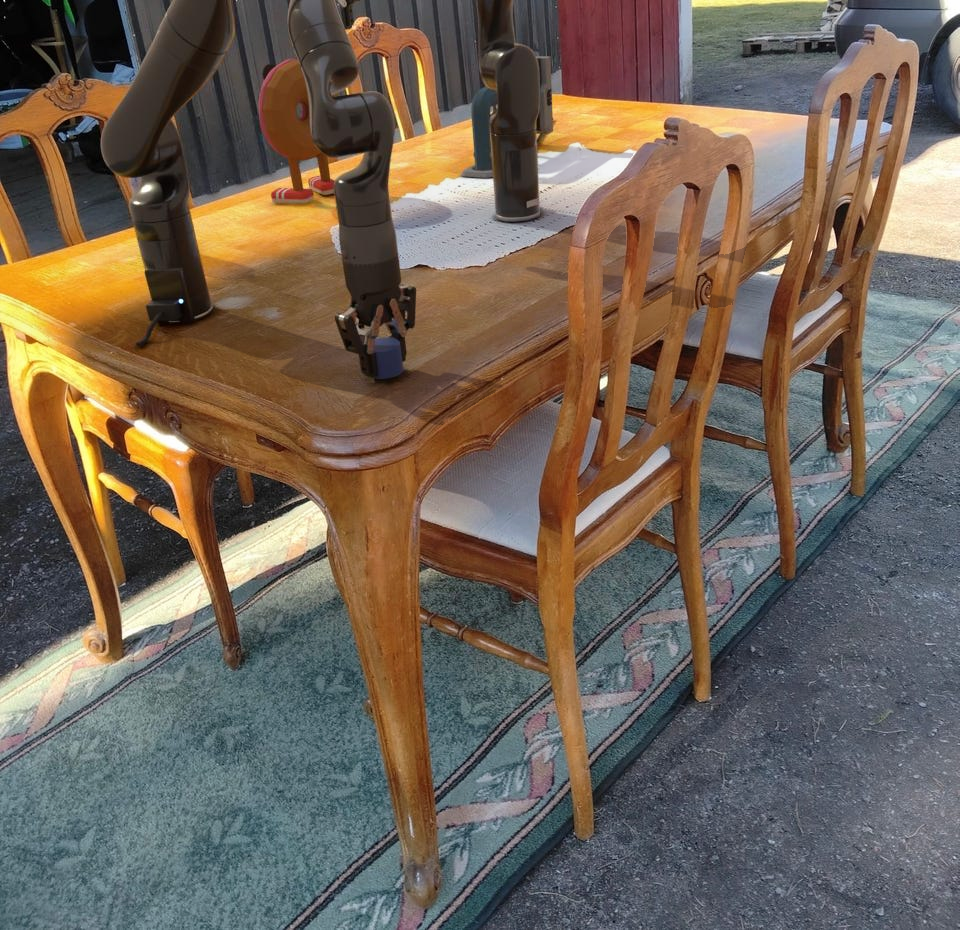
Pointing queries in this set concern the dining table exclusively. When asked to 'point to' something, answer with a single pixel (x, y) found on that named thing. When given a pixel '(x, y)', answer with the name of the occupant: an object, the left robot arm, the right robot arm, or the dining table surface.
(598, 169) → the dining table surface
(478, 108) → the clamp
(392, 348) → the canister
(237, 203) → the dining table surface
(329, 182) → the toy
